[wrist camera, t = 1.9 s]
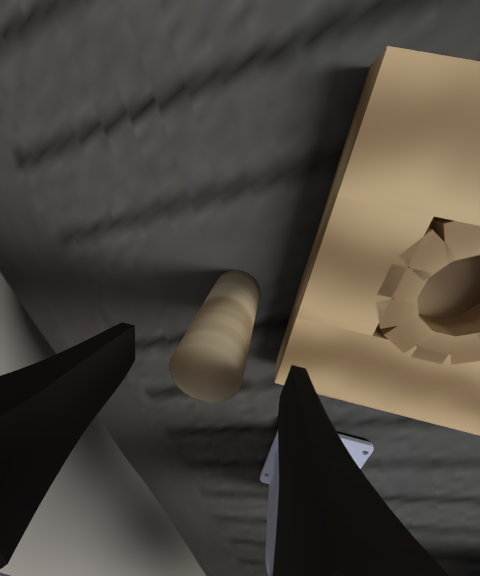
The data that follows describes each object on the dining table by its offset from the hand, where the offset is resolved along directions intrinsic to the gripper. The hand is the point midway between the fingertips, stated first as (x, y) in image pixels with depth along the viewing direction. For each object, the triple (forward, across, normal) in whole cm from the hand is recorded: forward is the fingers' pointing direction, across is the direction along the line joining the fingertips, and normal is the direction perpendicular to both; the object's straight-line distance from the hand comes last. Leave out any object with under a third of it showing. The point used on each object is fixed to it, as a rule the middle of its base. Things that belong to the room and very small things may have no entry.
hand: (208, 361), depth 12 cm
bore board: (+7, -12, -4) cm, 15 cm away
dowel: (+7, 0, 0) cm, 7 cm away
